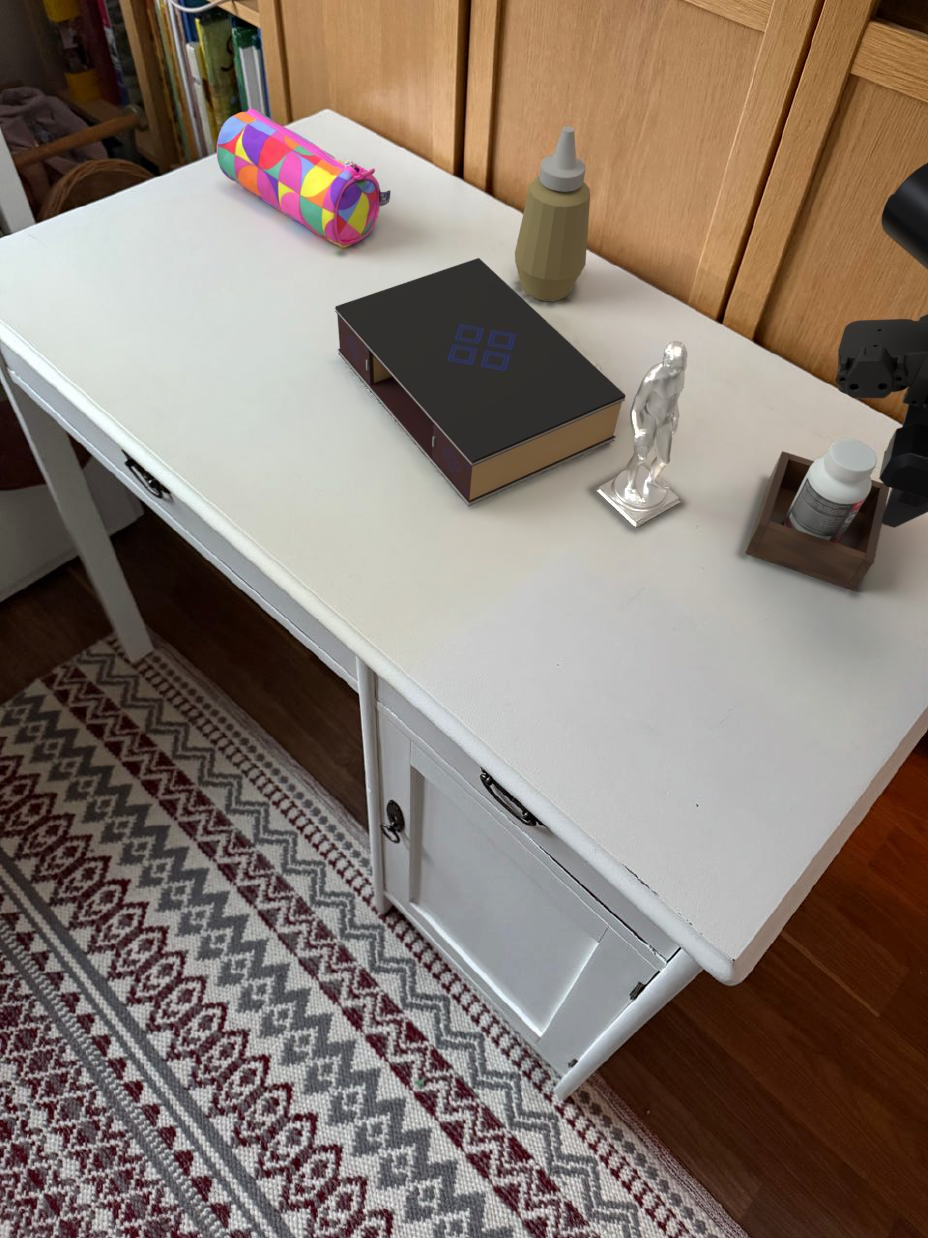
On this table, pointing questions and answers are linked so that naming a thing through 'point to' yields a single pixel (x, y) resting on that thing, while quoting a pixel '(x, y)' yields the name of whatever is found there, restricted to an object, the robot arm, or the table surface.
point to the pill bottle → (833, 491)
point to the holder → (808, 551)
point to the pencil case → (300, 178)
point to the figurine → (650, 441)
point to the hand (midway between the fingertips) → (895, 485)
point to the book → (477, 378)
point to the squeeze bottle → (554, 225)
